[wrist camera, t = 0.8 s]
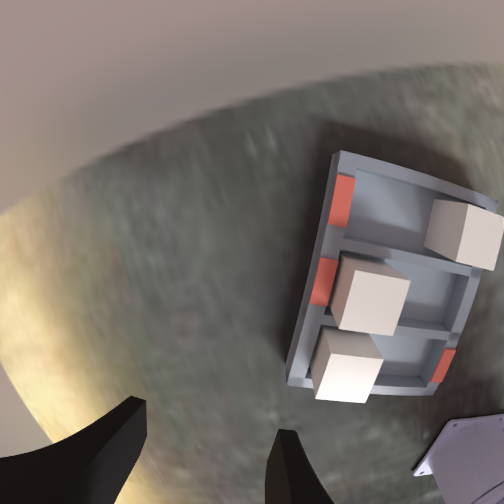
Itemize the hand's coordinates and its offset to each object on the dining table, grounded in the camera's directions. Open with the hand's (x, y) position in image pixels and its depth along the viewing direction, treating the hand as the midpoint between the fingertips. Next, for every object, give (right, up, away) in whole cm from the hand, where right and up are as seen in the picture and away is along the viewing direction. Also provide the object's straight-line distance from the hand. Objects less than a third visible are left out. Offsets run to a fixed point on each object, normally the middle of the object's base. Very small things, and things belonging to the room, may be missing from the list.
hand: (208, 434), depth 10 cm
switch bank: (+10, +5, +9) cm, 15 cm away
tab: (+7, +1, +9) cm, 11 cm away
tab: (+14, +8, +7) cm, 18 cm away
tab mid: (+8, +5, +8) cm, 12 cm away
